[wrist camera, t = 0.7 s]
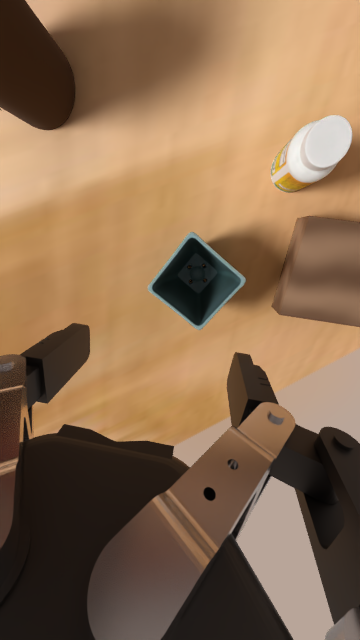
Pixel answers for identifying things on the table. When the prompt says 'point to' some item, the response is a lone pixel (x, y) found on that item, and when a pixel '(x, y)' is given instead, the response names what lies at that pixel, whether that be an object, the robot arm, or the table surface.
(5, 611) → the robot arm
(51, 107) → the olive oil
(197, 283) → the flower pot
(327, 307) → the walnut plinth
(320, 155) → the supplement bottle
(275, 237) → the table surface
